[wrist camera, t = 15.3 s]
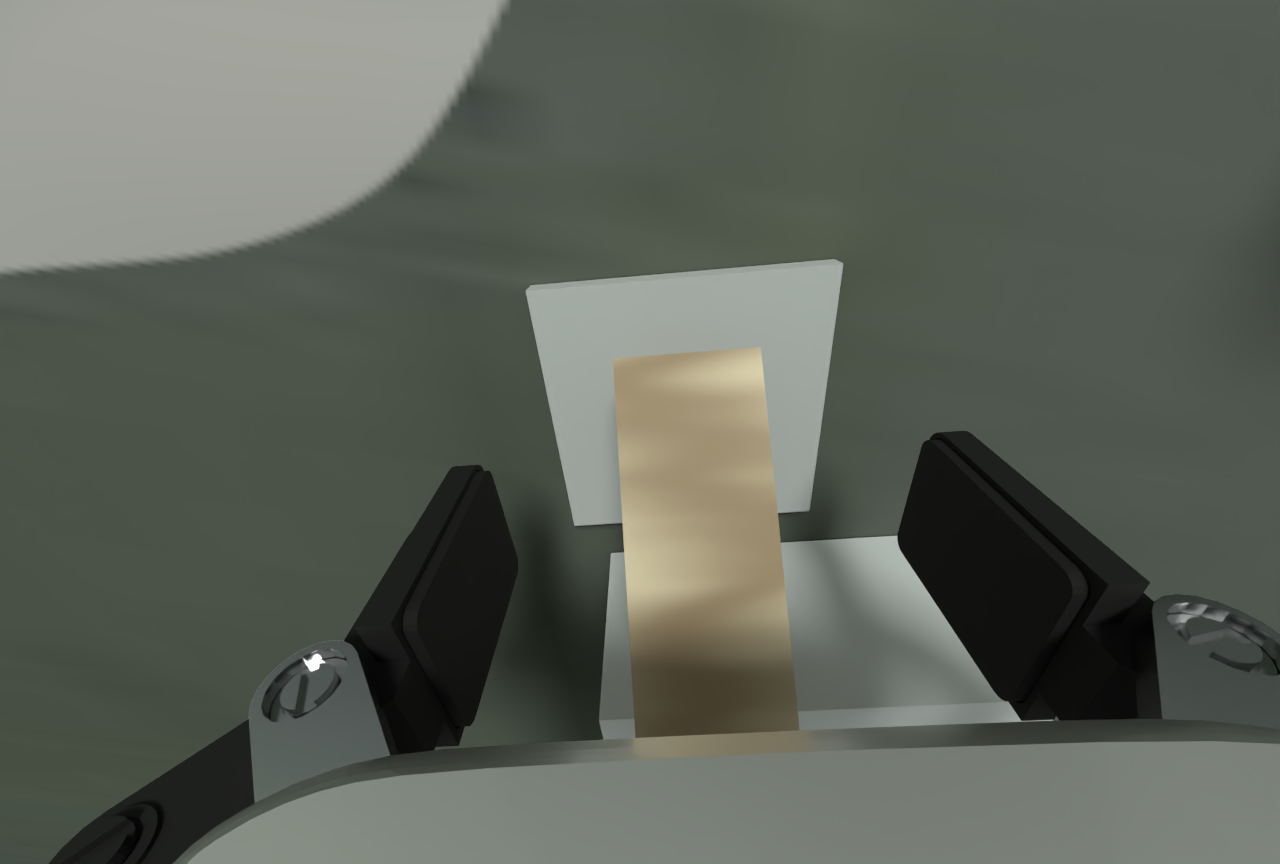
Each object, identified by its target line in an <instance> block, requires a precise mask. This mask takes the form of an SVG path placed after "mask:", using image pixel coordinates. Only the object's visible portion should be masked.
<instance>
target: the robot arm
mask: <svg viewBox="0 0 1280 864" xmlns="http://www.w3.org/2000/svg"><path fill="white" fill-rule="evenodd" d="M897 540H898V545H899V548H900V550H901V552H902V554H903V555H904V557H905V558H906V560H907V561H908V563H909V564H910V566H911V567H912V569H913V570H914V572H915V573H916V575H917V576H918V578H919V579H920V581H921V582H922V584H923V585H924V587H925V588H926V590H927V591H928V593H929V594H930V596H931V597H932V599H933V600H934V602H935V603H936V605H937V606H938V608H939V609H940V611H941V612H942V614H943V615H944V617H945V618H946V620H947V621H948V623H949V624H950V626H951V627H952V629H953V631H954V632H955V634H956V635H957V637H958V638H959V640H960V641H961V643H962V644H963V646H964V647H965V649H966V650H967V652H968V653H969V655H970V656H971V658H972V659H973V661H974V662H975V664H976V665H977V667H978V668H979V670H980V671H981V673H982V674H983V676H984V677H985V679H986V680H987V682H988V683H989V685H990V686H991V688H992V689H993V691H994V692H995V693H996V695H997V696H998V697H999V698H1000V699H1002V700H1004V701H1006V702H1007V701H1008V702H1009V703H1010V705H1011V706H1012V708H1013V709H1014V711H1015V712H1016V714H1017V715H1018V717H1019V718H1020V720H1021V721H1026V722H1000V723H974V724H948V725H922V726H896V727H871V728H848V729H825V730H801V731H778V732H756V733H734V734H711V735H689V736H668V737H648V738H628V739H608V740H587V741H567V742H547V743H529V744H514V745H500V746H485V747H470V748H455V749H441V750H434V749H435V747H441V746H459V743H460V739H461V736H462V733H463V730H464V726H470V725H471V724H472V723H473V721H474V719H475V716H476V713H477V710H478V706H479V703H480V699H481V696H482V693H483V689H484V686H485V682H486V679H487V676H488V672H489V669H490V665H491V662H492V658H493V655H494V652H495V648H496V645H497V641H498V638H499V635H500V631H501V628H502V624H503V621H504V618H505V614H506V611H507V607H508V604H509V601H510V597H511V594H512V590H513V587H514V584H515V580H516V577H517V573H518V558H517V555H516V551H515V548H514V545H513V542H512V538H511V535H510V532H509V529H508V525H507V522H506V519H505V516H504V512H503V509H502V506H501V503H500V499H499V496H498V493H497V490H496V486H495V483H494V480H493V477H492V474H491V473H490V471H484V470H483V468H482V467H481V466H480V465H469V466H455V467H452V468H451V469H450V470H449V472H448V473H447V475H446V477H445V478H444V480H443V482H442V483H441V485H440V487H439V488H438V490H437V491H436V493H435V495H434V496H433V498H432V500H431V501H430V503H429V505H428V506H427V508H426V510H425V511H424V513H423V514H422V516H421V518H420V519H419V521H418V523H417V524H416V526H415V528H414V529H413V531H412V532H411V533H410V535H409V536H408V537H407V539H406V540H405V542H404V544H403V545H402V547H401V548H400V550H399V552H398V553H397V555H396V557H395V558H394V560H393V562H392V563H391V565H390V566H389V568H388V570H387V571H386V573H385V575H384V576H383V578H382V580H381V581H380V583H379V584H378V586H377V588H376V589H375V591H374V593H373V594H372V596H371V598H370V599H369V601H368V602H367V604H366V606H365V607H364V609H363V611H362V612H361V614H360V615H359V617H358V619H357V620H356V622H355V624H354V625H353V627H352V629H351V630H350V632H349V633H348V635H347V637H346V638H345V640H344V641H338V640H329V641H325V642H321V643H316V644H314V645H312V646H309V647H307V648H305V649H303V650H300V651H299V652H297V653H296V654H294V655H293V656H291V657H289V658H288V659H286V660H285V661H284V662H282V663H281V664H280V665H279V666H278V667H277V668H276V669H275V670H273V671H272V672H271V673H270V674H269V675H268V677H267V678H266V679H265V680H264V682H263V683H262V684H261V685H260V687H259V688H258V689H257V691H256V693H255V695H254V697H253V699H252V701H251V704H250V710H249V719H248V720H247V721H245V722H244V723H242V724H240V725H239V726H237V727H236V728H234V729H233V730H231V731H230V732H228V733H227V734H225V735H223V736H222V737H220V738H219V739H217V740H216V741H214V742H213V743H211V744H210V745H208V746H206V747H205V748H203V749H202V750H200V751H199V752H197V753H196V754H194V755H193V756H191V757H189V758H188V759H186V760H185V761H183V762H182V763H180V764H179V765H177V766H176V767H174V768H172V769H171V770H169V771H168V772H166V773H165V774H163V775H162V776H160V777H159V778H157V779H155V780H154V781H152V782H151V783H149V784H148V785H146V786H145V787H143V788H142V789H140V790H138V791H137V792H135V793H134V794H132V795H131V796H129V797H128V798H126V799H125V800H123V801H122V802H120V803H118V804H117V805H115V806H114V807H112V808H111V809H109V810H108V811H106V812H105V813H103V814H102V815H101V816H99V817H98V818H97V819H95V820H94V821H93V822H91V823H90V824H89V825H87V826H86V827H84V828H83V829H82V830H81V831H80V832H79V833H78V834H77V835H76V836H75V837H73V838H72V839H71V840H70V841H69V842H68V843H67V844H66V845H65V846H64V847H63V848H62V849H61V850H60V851H59V852H58V853H57V855H56V856H55V857H54V858H53V859H52V860H51V862H50V863H49V864H1280V634H1279V633H1277V632H1276V631H1275V630H1273V629H1272V628H1270V627H1269V626H1267V625H1266V624H1264V623H1263V622H1261V621H1259V620H1257V619H1255V618H1253V617H1251V616H1249V615H1247V614H1246V613H1244V612H1242V611H1240V610H1237V609H1235V608H1232V607H1229V606H1227V605H1224V604H1222V603H1219V602H1216V601H1213V600H1209V599H1205V598H1201V597H1197V596H1190V595H1180V594H1175V595H1167V596H1162V597H1161V598H1159V599H1158V600H1156V601H1155V602H1154V601H1152V600H1151V599H1150V598H1149V597H1148V596H1147V595H1145V594H1144V593H1143V592H1144V591H1145V589H1146V588H1147V586H1148V585H1149V584H1150V582H1149V581H1148V580H1147V579H1145V578H1144V577H1143V576H1142V575H1141V574H1139V573H1138V572H1137V571H1136V570H1135V569H1133V568H1132V567H1131V566H1130V565H1129V564H1127V563H1126V562H1125V561H1124V560H1123V559H1121V558H1120V557H1119V556H1118V555H1117V554H1115V553H1114V552H1113V551H1112V550H1111V549H1109V548H1108V547H1107V546H1106V545H1105V544H1103V543H1102V542H1101V541H1100V540H1098V539H1097V538H1096V537H1095V536H1094V535H1092V534H1091V533H1090V532H1089V531H1088V530H1086V529H1085V528H1084V527H1083V526H1082V525H1080V524H1079V523H1078V522H1077V521H1076V520H1074V519H1073V518H1072V517H1071V516H1070V515H1068V514H1067V513H1066V512H1065V511H1064V510H1062V509H1061V508H1060V507H1059V506H1058V505H1056V504H1055V503H1054V502H1053V501H1052V500H1050V499H1049V498H1048V497H1047V496H1046V495H1044V494H1043V493H1042V492H1041V491H1040V490H1038V489H1037V488H1036V487H1035V486H1034V485H1032V484H1031V483H1030V482H1029V481H1028V480H1026V479H1025V478H1024V477H1023V476H1022V475H1020V474H1019V473H1018V472H1017V471H1016V470H1014V469H1013V468H1012V467H1011V466H1010V465H1008V464H1007V463H1006V462H1005V461H1004V460H1002V459H1001V458H1000V457H999V456H998V455H996V454H995V453H994V452H993V451H992V450H990V449H989V448H988V447H987V446H986V445H984V444H983V443H982V442H981V441H980V440H978V439H977V438H976V437H975V436H973V435H972V434H971V433H969V432H967V431H955V432H940V433H935V434H933V435H932V436H931V438H930V440H927V441H925V442H924V443H923V445H922V447H921V451H920V455H919V458H918V462H917V466H916V469H915V473H914V476H913V480H912V484H911V487H910V491H909V495H908V498H907V502H906V506H905V509H904V513H903V516H902V520H901V524H900V527H899V531H898V536H897ZM1056 716H1057V717H1058V719H1059V720H1060V721H1034V720H1054V718H1055V717H1056Z"/></svg>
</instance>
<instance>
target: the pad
mask: <svg viewBox="0 0 1280 864" xmlns="http://www.w3.org/2000/svg"><path fill="white" fill-rule="evenodd" d="M842 270H843V263H841V262H839V261H837V260H835V259H830V260H819V261H807V262H796V263H784V264H772V265H761V266H749V267H738V268H726V269H715V270H703V271H691V272H680V273H668V274H657V275H645V276H634V277H622V278H610V279H599V280H587V281H576V282H564V283H553V284H541V285H530V287H529V288H528V289H527V290H526V295H527V300H528V305H529V309H530V314H531V319H532V324H533V329H534V333H535V338H536V343H537V348H538V353H539V357H540V362H541V367H542V372H543V377H544V381H545V386H546V391H547V396H548V401H549V405H550V410H551V415H552V420H553V425H554V430H555V434H556V439H557V444H558V449H559V454H560V458H561V463H562V468H563V473H564V478H565V482H566V487H567V492H568V497H569V502H570V506H571V511H572V516H573V521H574V526H581V525H597V524H613V523H623V522H622V505H621V488H620V472H619V455H618V438H617V422H616V405H615V388H614V371H613V359H614V358H627V357H640V356H653V355H665V354H678V353H691V352H704V351H717V350H729V349H742V348H755V347H761V354H762V364H763V374H764V384H765V393H766V403H767V413H768V423H769V433H770V443H771V453H772V462H773V472H774V482H775V492H776V502H777V512H778V513H785V512H801V511H809V510H810V503H811V496H812V488H813V481H814V474H815V466H816V459H817V452H818V445H819V437H820V430H821V423H822V415H823V408H824V401H825V394H826V386H827V379H828V372H829V364H830V357H831V350H832V343H833V335H834V328H835V321H836V313H837V306H838V299H839V292H840V284H841V277H842Z"/></svg>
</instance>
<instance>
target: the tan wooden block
mask: <svg viewBox="0 0 1280 864" xmlns="http://www.w3.org/2000/svg"><path fill="white" fill-rule="evenodd" d="M613 371H614V388H615V405H616V422H617V438H618V455H619V472H620V488H621V505H622V522H623V539H624V555H625V572H626V589H627V605H628V622H629V639H630V656H631V672H632V689H633V706H634V722H635V738H648V737H668V736H689V735H711V734H734V733H756V732H778V731H800V728H799V718H798V709H797V699H796V689H795V679H794V669H793V659H792V650H791V640H790V630H789V620H788V610H787V600H786V590H785V581H784V571H783V561H782V551H781V541H780V531H779V522H778V512H777V502H776V492H775V482H774V472H773V462H772V453H771V443H770V433H769V423H768V413H767V403H766V393H765V384H764V374H763V364H762V354H761V347H755V348H742V349H729V350H717V351H704V352H691V353H678V354H665V355H653V356H640V357H627V358H614V359H613Z"/></svg>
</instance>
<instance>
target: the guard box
mask: <svg viewBox="0 0 1280 864" xmlns="http://www.w3.org/2000/svg"><path fill="white" fill-rule="evenodd" d="M781 551H782V561H783V571H784V581H785V590H786V600H787V610H788V620H789V630H790V640H791V650H792V659H793V669H794V679H795V689H796V699H797V709H798V718H799V728H800V731H801V730H825V729H848V728H871V727H896V726H922V725H948V724H974V723H1000V722H1026V721H1021V720H1020V718H1019V717H1018V715H1017V714H1016V712H1015V711H1014V709H1013V708H1012V706H1011V705H1010V703H1009V702H1008V701H1007V702H1006V701H1004V700H1002V699H1000V698H999V697H998V696H997V695H996V693H995V692H994V691H993V689H992V688H991V686H990V685H989V683H988V682H987V680H986V679H985V677H984V676H983V674H982V673H981V671H980V670H979V668H978V667H977V665H976V664H975V662H974V661H973V659H972V658H971V656H970V655H969V653H968V652H967V650H966V649H965V647H964V646H963V644H962V643H961V641H960V640H959V638H958V637H957V635H956V634H955V632H954V631H953V629H952V627H951V626H950V624H949V623H948V621H947V620H946V618H945V617H944V615H943V614H942V612H941V611H940V609H939V608H938V606H937V605H936V603H935V602H934V600H933V599H932V597H931V596H930V594H929V593H928V591H927V590H926V588H925V587H924V585H923V584H922V582H921V581H920V579H919V578H918V576H917V575H916V573H915V572H914V570H913V569H912V567H911V566H910V564H909V563H908V561H907V560H906V558H905V557H904V555H903V554H902V552H901V550H900V548H899V545H898V540H897V536H883V537H867V538H850V539H834V540H818V541H801V542H785V543H781ZM1034 721H1053V720H1034ZM599 723H600V727H601V731H602V735H603V740H608V739H628V738H635V722H634V706H633V689H632V672H631V656H630V639H629V622H628V605H627V589H626V572H625V555H624V552H621V553H611V560H610V574H609V588H608V602H607V615H606V629H605V643H604V657H603V670H602V684H601V698H600V712H599Z"/></svg>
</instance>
